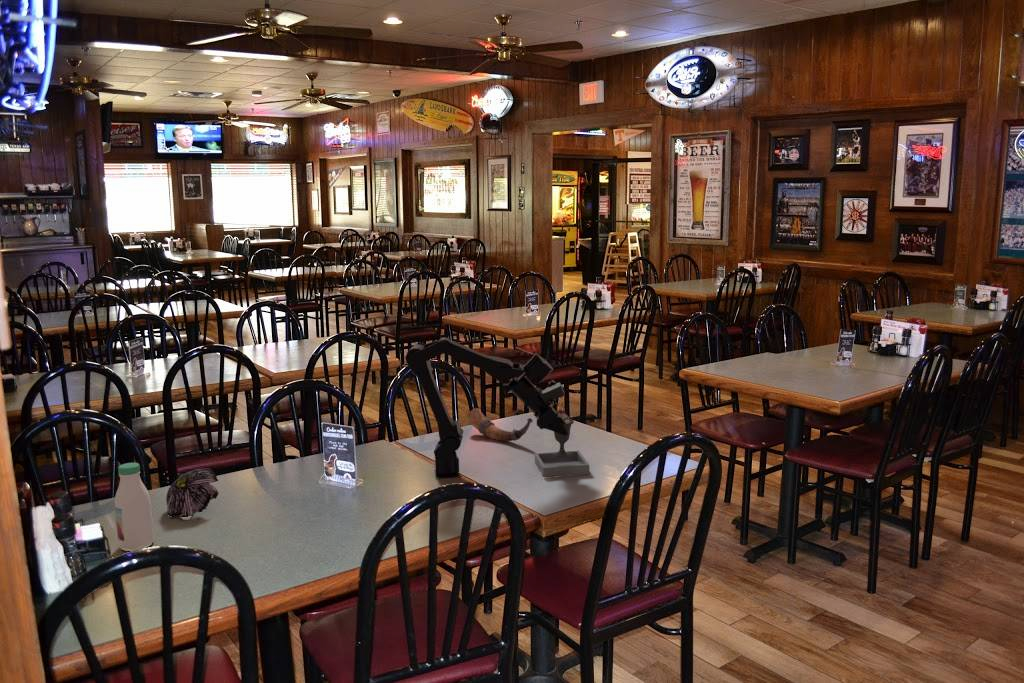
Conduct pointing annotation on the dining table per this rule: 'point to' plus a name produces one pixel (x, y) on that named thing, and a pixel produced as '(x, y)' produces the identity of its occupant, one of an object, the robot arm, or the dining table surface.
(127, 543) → the milk bottle
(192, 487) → the decorative flower
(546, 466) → the tray
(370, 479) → the dining table surface
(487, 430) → the drinking horn
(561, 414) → the sundae
